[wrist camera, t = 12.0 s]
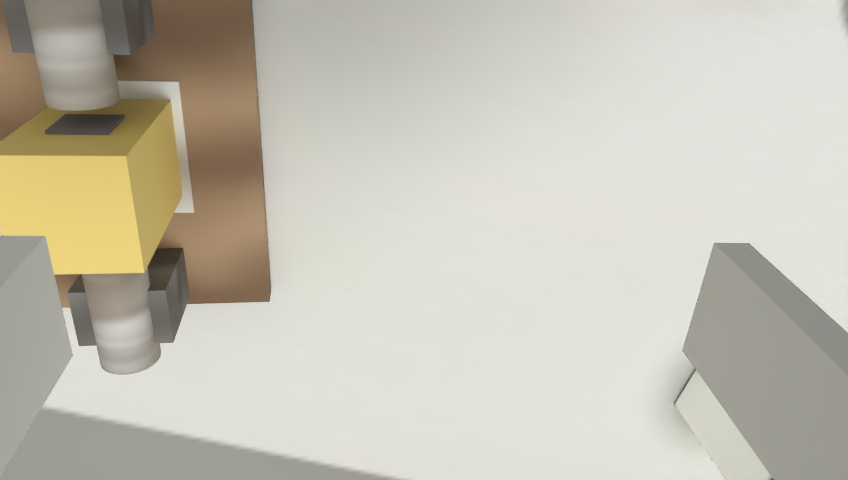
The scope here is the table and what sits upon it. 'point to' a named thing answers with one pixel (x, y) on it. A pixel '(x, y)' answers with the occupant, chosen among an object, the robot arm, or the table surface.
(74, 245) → the yellow rectangular block
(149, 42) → the shaft base
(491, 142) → the table surface
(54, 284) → the robot arm
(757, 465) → the jar
